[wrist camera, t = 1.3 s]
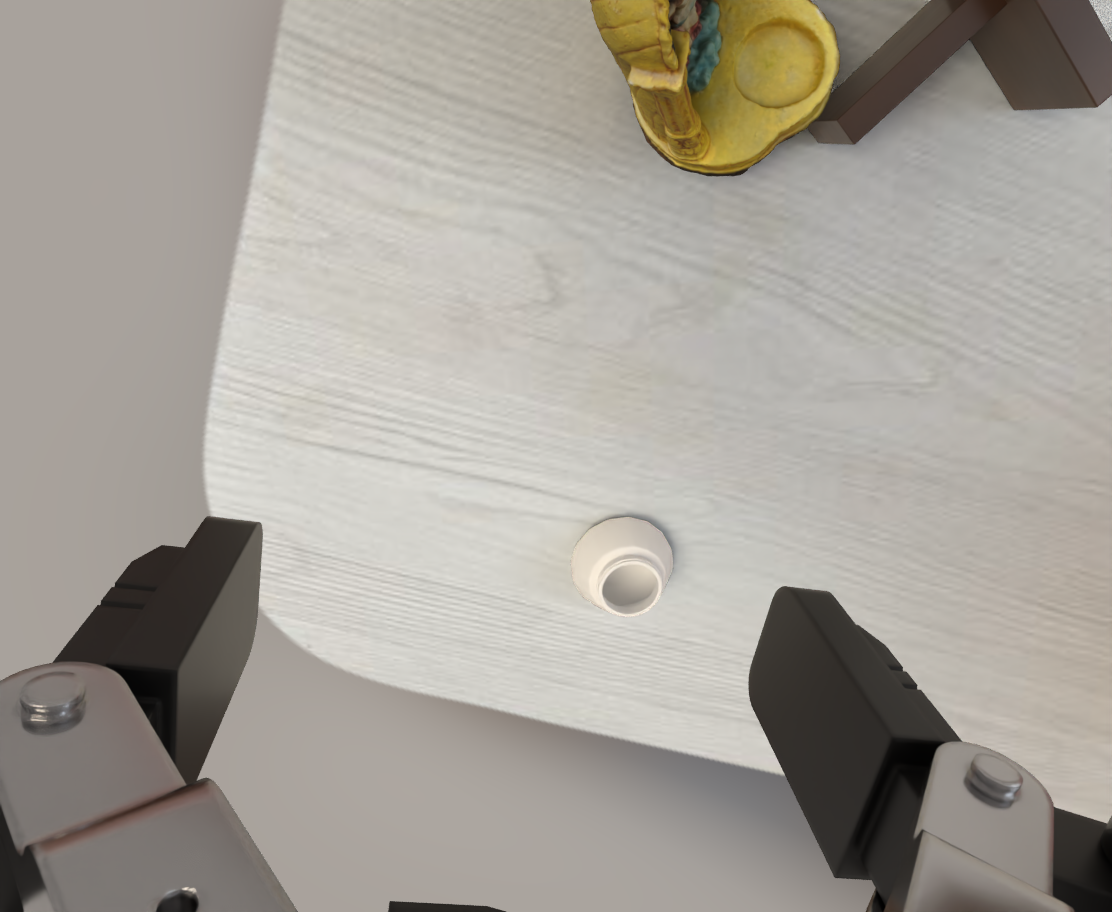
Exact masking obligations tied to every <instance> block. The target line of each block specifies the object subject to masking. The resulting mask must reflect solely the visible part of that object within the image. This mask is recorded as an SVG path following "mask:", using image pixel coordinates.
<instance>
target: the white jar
mask: <svg viewBox="0 0 1112 912" xmlns="http://www.w3.org/2000/svg"><path fill="white" fill-rule="evenodd" d="M571 569H572V578H573V582H574V584H575V586H576V587H577V589H578V590H579V592H580V594H581V595H582V597H583V598H585V599H586V600H588V601H589V602H591V603H592V604H594V605H595V606H597V607H599V608H601V609H603V610H605V611H607V612H611V613H613V614H615V615H618V616H622V617H633V616H638V615H641V614H643V613H645V612H647V611H648V610H650V609H651V608H652V607H653V606H654V605H655V604H656V603H657V601H658V600H659V598H660V596H661V595H662V593H663V591H664V589H665V587H666V585H667V583H668V580H669V577H670V575H671V572H672V570H673V558H672V549H671V547H670V546H669V544H668V542H667V540H666V538H665V537H664V535H663V533H662V532H661V531H660V530H658V529H657V528H656V527H654V526H653V525H652V524H650V523H649V522H647V521H644V520H640V519H635V518H631V517H622V518H615V519H608V520H606V521H604V522H602V523H600V524H598V525H596V526H594V527H592V528H590V529H589V530H588V531H587V532H586V534H585V535H584V536H583V537H582V538H581V539H580V540H579V541H578V543H577V544H576V547H575V550H574V553H573V556H572V559H571Z"/></svg>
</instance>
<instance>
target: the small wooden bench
mask: <svg viewBox="0 0 1112 912" xmlns="http://www.w3.org/2000/svg"><path fill="white" fill-rule="evenodd" d="M969 39H970V40H971V41H972V43H973V45H974V46H975V48H976V50H977V51H978V53H979V54H980V56H981V58H982V59H983V61H984V62H985V64H986V66H987V67H988V69H989V70H990V72H991V74H992V75H993V77H994V79H995V80H996V82H997V83H998V85H999V87H1000V88H1001V90H1002V91H1003V93H1004V95H1005V96H1006V98H1007V99H1008V101H1009V103H1010V104H1011V106H1012V108H1013V109H1014V110H1038V109H1066V108H1095V107H1098V106H1099V105H1101V104H1102V103H1103V102H1104V101H1105V100H1106V99H1107V98H1109V97H1110V96H1111V95H1112V42H1111V40H1110V38H1109V36H1108V34H1107V32H1106V31H1105V29H1104V27H1103V25H1102V23H1101V22H1100V20H1099V18H1098V16H1097V14H1096V13H1095V11H1094V9H1093V7H1092V5H1091V3H1090V2H1089V0H931V1H930V2H929V3H928V4H926V5H925V6H924V7H923V8H922V9H921V10H920V11H919V12H918V13H917V14H916V15H915V16H914V17H913V18H912V19H910V20H909V21H908V22H907V23H906V24H905V25H904V26H903V27H902V28H901V29H900V30H899V31H898V32H897V33H896V34H895V35H893V36H892V37H891V38H890V39H889V40H888V41H887V42H886V43H885V44H884V45H883V46H882V47H881V48H880V49H879V50H878V51H876V52H875V53H874V54H873V55H872V56H871V57H870V58H869V59H868V60H867V61H866V62H865V63H864V64H863V65H862V66H860V67H859V68H858V69H857V70H856V71H855V72H854V73H853V74H852V75H851V76H850V77H849V78H848V79H847V80H846V81H845V82H843V83H842V84H841V85H840V86H839V87H838V88H837V89H836V90H835V91H834V92H833V93H832V94H831V95H830V98H829V100H828V102H827V104H826V106H825V108H824V110H823V112H822V114H821V115H820V117H819V118H818V119H817V120H815V121H814V122H812V123H811V124H810V125H809V126H808V127H807V128H808V129H809V131H810V132H811V134H812V135H813V136H814V138H815V139H816V140H817V142H818V143H827V144H852V145H854V144H856V143H857V142H858V141H859V140H860V139H861V138H862V137H863V136H864V135H865V134H867V133H868V132H869V131H870V130H871V129H872V128H873V127H874V126H875V125H876V124H877V123H879V122H880V121H881V120H882V119H883V118H884V117H885V116H886V115H887V114H888V113H889V112H891V111H892V110H893V109H894V108H895V107H896V106H897V105H898V104H899V103H900V102H901V101H903V100H904V99H905V98H906V97H907V96H908V95H909V94H910V93H911V92H912V91H913V90H914V89H916V88H917V87H918V86H919V85H920V84H921V83H922V82H923V81H924V80H925V79H926V78H928V77H929V76H930V75H931V74H932V73H933V72H934V71H935V70H936V69H937V68H938V67H940V66H941V65H942V64H943V63H944V62H945V61H946V60H947V59H948V58H949V57H950V56H951V55H953V54H954V53H955V52H956V51H957V50H958V49H959V48H960V47H961V46H962V45H963V44H965V43H966V42H967V41H968V40H969Z"/></svg>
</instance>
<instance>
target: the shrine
mask: <svg viewBox="0 0 1112 912" xmlns="http://www.w3.org/2000/svg"><path fill="white" fill-rule="evenodd" d="M590 2H591V4H592V11H593V14H594V19H595V21H596V24H597V27H598V29H599V31H600V33H601V36H602V38H603V40H604V42H605V43H606V45H607V46H608V49H609V50H610V51H611V52H612V55H613V56H614V58H615V60H616V62H617V64H618V65H619V67H620V68H621V70H622V73H623V74H624V76H625V78H626V81H627V83H628V85H629V87H630V91H631V96H632V98H633V99H632V100H633V107H634V110H635V113H636V117H637V119H638V122H639V124H640V127H641V129H642V131H643V133H644V135H645V138H646V141H647V142H648V143H649V144H650V145H651V146H652V148H654V149H655V150H656V151H657V153H658V154H659V155H660V156H661V157H662V158H664V159H665V160H666V161H667V162H669V163H670V164H671V165H673V166H675V167H677V168H680V169H682V170H685V171H689V172H694V173H698V174H702V175H706V176H736V175H741V174H743V173H745V172H746V171H747V170H748V169H749V168H750V167H751V166H753V165H755V164H757V163H759V162H760V161H761V160H762V159H763V158H765V157H766V156H767V155H768V154H769V153H771V151H772V150H774V148H775V146H776V145H778V144H779V143H781V142H783V141H785V140H788V139H789V138H792V137H793V136H795V134H798V133H799V132H802V131H804V130H806V129H807V127H808V126H809V125H810V124H811V123H812V122H814V121H815V120H817V119H818V118H819V117H820V115H821V114H822V112H823V110H824V108H825V106H826V104H827V102H828V100H829V98H830V94H831V90H832V87H833V80H834V78H835V77H836V76H837V74H838V71H839V66H840V54H839V49H838V47H837V46H838V44H837V38H836V32H835V29H834V27H833V25H832V24H831V23H830V22H829V21H828V20H827V19H826V17H825V14H824V13H823V12H822V11H821V10H820V9H819V8H818V7H817V5H815V4H813V3H812V2H811V1H810V0H590Z"/></svg>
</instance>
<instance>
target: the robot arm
mask: <svg viewBox="0 0 1112 912" xmlns="http://www.w3.org/2000/svg"><path fill="white" fill-rule="evenodd" d="M262 539H263V531H262V525H261V523H260V522H252V521H244V520H235V519H227V518H219V517H210V516H208V517H206V518H205V519H204V521H203V522H202V523H201V525H200V526H199V528H198V530H197V531H196V532H195V534H194V535H193V537H192V538H191V539H190V541H189V543H188V544H187V545H186V547H185V548H183V547H174V546H165V545H161V546H160V547H158V548H156V549H154V550H152V551H150V552H149V553H147V554H145V555H143V556H142V557H139V558H138V559H136V560H134V561H132V562H131V563H130V565H129V566H128V567H127V569H126V570H125V571H124V572H123V574H122V575H121V576H120V577H119V579H118V580H117V581H116V583H115V587H112V588H111V589H110V590H109V591H108V593H107V594H106V596H105V597H104V598H103V599H102V600H101V605H97V607H96V608H95V609H94V611H93V612H92V613H91V614H90V616H89V617H88V618H87V619H86V621H85V622H84V623H83V624H82V626H81V627H80V628H79V630H78V631H77V632H76V633H75V635H74V636H73V637H72V638H71V640H70V641H69V642H68V643H67V645H66V646H65V647H64V649H63V650H62V651H61V653H60V654H59V655H58V656H57V657H56V659H55V660H54V661H53V663H49V664H44V665H40V666H35V667H32V668H29V669H25V670H22V671H20V672H18V673H15V674H13V675H10V676H9V677H6V678H5V679H3V680H1V681H0V912H298V911H297V910H296V908H295V906H294V905H293V903H292V902H291V900H290V898H289V897H288V895H287V894H286V892H285V890H284V889H283V887H282V886H281V884H280V883H279V881H278V879H277V878H276V876H275V875H274V873H273V872H272V870H271V868H270V867H269V865H268V864H267V862H266V860H265V859H264V857H263V856H262V854H261V852H260V851H259V849H258V848H257V846H256V845H255V843H254V841H253V840H252V838H251V836H250V835H249V833H248V832H247V830H246V828H245V827H244V825H243V824H242V822H241V820H240V819H239V817H238V816H237V814H236V813H235V811H234V809H233V808H232V806H231V805H230V803H229V801H228V800H227V798H226V797H225V795H224V793H223V792H222V790H221V789H220V788H219V786H218V785H217V784H216V783H215V782H214V781H212V780H211V779H209V778H203V779H200V780H198V781H196V780H197V778H198V776H199V773H200V771H201V768H202V766H203V764H204V762H205V759H206V757H207V754H208V752H209V749H210V747H211V745H212V742H213V740H214V738H215V736H216V733H217V730H218V729H219V726H220V724H221V721H222V719H223V717H224V714H225V712H226V710H227V707H228V705H229V703H230V700H231V698H232V695H233V693H234V691H235V688H236V686H237V684H238V681H239V679H240V677H241V674H242V672H243V669H244V667H245V665H246V662H247V660H248V657H249V655H250V652H251V648H252V644H253V640H254V635H255V630H256V624H257V616H258V602H259V586H260V571H261V555H262ZM749 697H750V701H751V705H752V707H753V710H754V712H755V714H756V716H757V718H758V720H759V722H760V724H761V726H762V728H763V730H764V732H765V734H766V736H767V739H768V741H769V743H770V745H771V747H772V749H773V751H774V753H775V755H776V757H777V759H778V761H779V763H780V765H781V767H782V770H783V772H784V774H785V776H786V778H787V780H788V782H789V784H790V786H791V788H792V790H793V792H794V794H795V796H796V798H797V801H798V803H799V805H800V807H801V809H802V811H803V813H804V815H805V817H806V819H807V821H808V823H809V825H810V827H811V829H812V832H813V833H814V836H815V838H816V840H817V842H818V844H819V846H820V848H821V850H822V852H823V854H824V856H825V858H826V861H827V863H828V864H829V867H830V869H831V871H832V873H833V875H834V877H835V878H846V879H863V880H872V881H873V883H874V885H875V887H876V889H875V891H874V894H873V896H872V898H871V900H870V903H869V905H868V907H867V910H866V912H1112V816H1111V818H1110V820H1109V822H1108V824H1106V823H1103V822H1100V821H1097V820H1093V819H1090V818H1087V817H1084V816H1081V815H1077V814H1074V813H1071V812H1068V811H1065V810H1061V809H1058V808H1055V807H1054V806H1053V802H1052V799H1051V797H1050V795H1049V793H1048V792H1047V790H1046V789H1045V788H1044V786H1043V785H1042V784H1041V783H1040V782H1039V781H1038V780H1037V779H1036V778H1035V777H1034V776H1033V775H1032V774H1031V773H1029V772H1028V771H1027V770H1026V769H1025V768H1023V767H1022V766H1020V765H1019V764H1017V763H1016V762H1014V761H1013V760H1011V759H1009V758H1008V757H1006V756H1004V755H1002V754H1000V753H998V752H996V751H993V750H991V749H989V748H986V747H983V746H980V745H977V744H972V743H967V742H962V741H961V739H960V738H959V737H958V736H957V734H956V733H955V732H954V731H953V729H952V728H951V727H950V726H949V724H948V723H947V722H946V721H945V719H944V718H943V717H942V716H941V714H940V713H939V712H938V711H937V709H936V708H935V707H934V706H933V704H932V703H931V702H930V701H929V699H928V698H927V697H926V696H925V694H924V693H923V692H922V691H921V690H917V684H916V683H915V682H914V681H913V679H912V678H911V677H910V676H909V674H908V673H907V672H904V671H903V667H902V666H901V664H900V663H899V662H898V661H897V659H896V658H895V657H894V656H893V654H892V653H891V652H890V651H889V649H888V648H887V647H886V646H885V645H884V644H883V643H881V642H880V641H879V640H877V639H876V638H875V637H873V636H872V635H871V634H869V633H868V632H867V631H865V630H864V629H863V628H861V627H860V626H859V625H856V624H855V623H854V622H853V620H852V619H851V618H850V617H849V615H848V614H847V613H846V611H845V610H844V609H843V607H842V606H841V605H840V604H839V602H838V601H837V600H836V598H835V597H834V596H833V595H832V594H831V593H830V592H827V591H820V590H812V589H804V588H795V587H787V586H783V587H781V588H779V589H778V590H777V592H776V593H775V595H774V597H773V599H772V602H771V605H770V608H769V611H768V615H767V618H766V621H765V624H764V627H763V630H762V633H761V636H760V639H759V642H758V645H757V649H756V652H755V655H754V658H753V661H752V664H751V668H750V673H749ZM388 912H505V911H502V910H498V909H495V908H491V907H488V906H474V905H453V904H433V903H414V902H395V901H390V903H389V910H388Z"/></svg>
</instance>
